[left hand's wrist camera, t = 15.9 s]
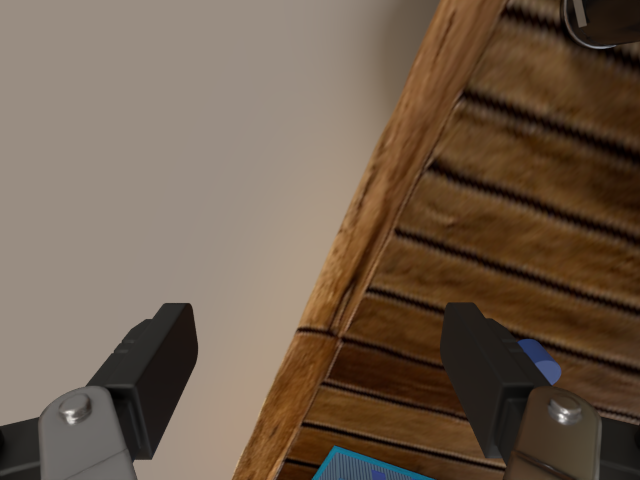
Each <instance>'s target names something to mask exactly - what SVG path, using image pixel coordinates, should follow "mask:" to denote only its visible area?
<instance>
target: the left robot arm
mask: <svg viewBox="0 0 640 480" xmlns="http://www.w3.org/2000/svg"><path fill="white" fill-rule="evenodd" d="M561 19H562V23H563V26H564V29H565V31H566V33H567V34H568V36H569V37H570V38H571V39H572V40H573V41H574V42H575V43H577V44H578V45H580V46H582V47H585V48H589V49H604V48H610V47H614V46H617V45H621V44H627V43H634V42H640V0H561ZM440 354H441V359H442V363H443V365H444V368H445V370H446V372H447V374H448V376H449V379H450V381H451V383H452V385H453V387H454V390H455V392H456V394H457V396H458V398H459V401H460V403H461V405H462V407H463V409H464V412H465V414H466V416H467V418H468V420H469V423H470V425H471V427H472V429H473V431H474V434H475V436H476V438H477V440H478V442H479V445H480V447H481V449H482V451H483V453H484V456H485V458H503V460H504V462H505V464H506V466H507V467H506V470H505V473H504V476H503V480H640V424H639V425H634V424H630V423H626V422H622V421H617V420H613V419H609V418H605V417H601V416H600V415H599V414H598V412H597V411H596V409H595V408H594V407H593V406H592V405H591V404H590V403H588V402H587V401H586V400H585V399H583V398H581V397H580V396H578V395H576V394H574V393H572V392H570V391H568V390H565V389H562V388H558V387H553V386H552V385H551V384H550V382H549V381H548V380H547V379H546V377H545V376H544V375H543V374H542V372H541V371H540V370H539V369H538V367H537V366H536V365H535V364H534V362H533V361H532V360H531V359H530V357H529V356H528V355H527V354H526V352H524V350H523V349H522V347H521V346H520V345H519V343H516V340H515V338H514V337H513V336H512V335H511V333H510V332H509V331H508V330H507V328H505V327H504V326H502V325H501V324H499V323H498V322H496V321H495V320H493V319H486V318H485V317H484V316H483V314H482V313H481V311H480V310H479V309H478V307H477V306H476V305H475V304H474V303H448V304H447V305H446V308H445V314H444V321H443V328H442V335H441V342H440ZM197 355H198V342H197V335H196V328H195V321H194V315H193V309H192V306H191V304H190V303H165V304H163V305H162V307H161V308H160V309H159V311H158V312H157V313H156V315H155V316H154V317H153V319H146V320H144V321H143V322H141V323H140V324H138V325H137V326H135V327H134V328H132V329H131V330H130V331H129V333H128V334H127V335H126V336H125V338H124V339H123V340H122V343H120V344H119V345H118V346H117V348H116V349H115V350H114V353H112V354H111V355H110V356H109V357H108V359H107V360H106V361H105V362H104V364H103V365H102V366H101V367H100V369H99V370H98V371H97V372H96V374H95V375H94V376H93V377H92V379H91V380H90V381H89V382H88V384H87V385H86V386H85V387H82V388H78V389H75V390H72V391H70V392H68V393H66V394H64V395H62V396H60V397H59V398H57V399H56V400H54V401H53V402H52V403H50V404H49V405H48V406H47V407H46V408H45V409H44V411H43V412H42V414H41V415H40V417H38V418H34V419H29V420H25V421H21V422H17V423H12V424H8V425H4V426H0V480H137V476H136V473H135V470H134V467H133V462H134V460H151V459H152V458H153V455H154V453H155V451H156V449H157V447H158V445H159V442H160V440H161V438H162V436H163V434H164V432H165V429H166V427H167V425H168V423H169V421H170V418H171V416H172V414H173V412H174V410H175V408H176V406H177V403H178V401H179V399H180V397H181V395H182V392H183V390H184V388H185V386H186V384H187V382H188V379H189V377H190V375H191V373H192V371H193V369H194V367H195V364H196V361H197Z"/></svg>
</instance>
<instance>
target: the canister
mask: <svg viewBox="0 0 640 480" xmlns="http://www.w3.org/2000/svg"><path fill="white" fill-rule="evenodd" d="M516 343H519V345H520V346H521V347H522V349H523V350H524V352H526V354H527V355H528V356H529V357H530V359H531V360H532V361H533V362H534V364H535V365H536V366H537V367H538V369H539V370H540V371H541V372H542V374H543V375H544V376H545V377H546V379H547V380H548V381H549V382H550V384H551V385H553V384H554V383H555V382H556V381H557V380H558V379H559V377H560V375H561V369H560V366H559V365H558V364H557V363H556V361H555V360H554V359H553V358H552V357H551V356H550V355H549V354H548V352H547V351H546V350H545V349H544V348H543V347H542V346H541V345H540V344H539V343H538V342H537V341H535V340H533V339H524V340H520V341H518V342H516Z"/></svg>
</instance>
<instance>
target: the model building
mask: <svg viewBox="0 0 640 480" xmlns="http://www.w3.org/2000/svg"><path fill="white" fill-rule="evenodd" d="M312 480H435V479H432V478H429V477H426V476H423V475H420V474H417V473H414V472H411V471H408V470H405V469H402V468H399V467H397V466H394V465H391V464H388V463H385V462H382V461H379V460H376V459H373V458H370V457H367V456H364V455H361V454H358V453H355V452H352V451H349V450H346V449H343V448H340V447H337V446H334V447H333V448H332V450H331V451H330V453H329V455H328V456H327V458H326V459H325V461H324V462H323V464H322V465H321V467H320V468H319V470H318V471H317V473H316V474H315V476H314V477H313V479H312Z"/></svg>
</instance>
